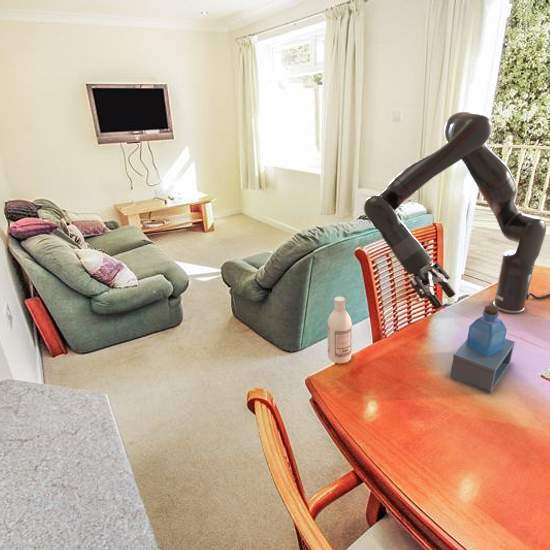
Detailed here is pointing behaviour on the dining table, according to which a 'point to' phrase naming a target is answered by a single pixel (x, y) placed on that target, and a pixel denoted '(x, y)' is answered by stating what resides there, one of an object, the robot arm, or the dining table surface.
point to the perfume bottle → (487, 333)
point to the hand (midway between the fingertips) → (446, 301)
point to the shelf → (481, 366)
